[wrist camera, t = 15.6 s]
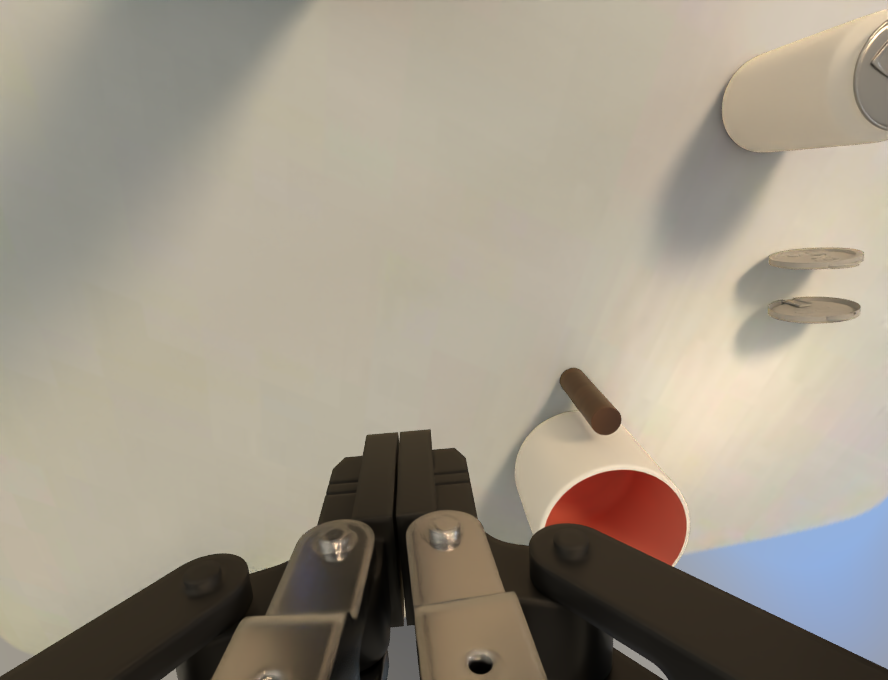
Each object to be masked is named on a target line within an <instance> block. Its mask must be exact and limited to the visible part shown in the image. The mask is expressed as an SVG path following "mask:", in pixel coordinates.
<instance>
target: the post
mask: <svg viewBox="0 0 888 680" xmlns="http://www.w3.org/2000/svg"><path fill="white" fill-rule="evenodd" d="M560 385H561V387H562V388H563V390H564V391H565V392H566V394H567V395H568V396H569V398H570V399H571V400H572V402H573V403H574V404H575V406H576V407H577V409H578V410H579V411H580V413H581V414H582V415H583V417H584V418H585V419H586V421H587V422H588V423H589V425H590V426H591V427H592V429H593V430H594V431H595V432H596V433H597V434H600V435H610V434H612V433H614V432H615V431H617V429H618V428H619V427H620V424H621V415H620V413H619V412H618V410H617V409H616V408H615V407H614V406H613V405H612V404H611V403H610V402H609V401H608V399H607V398H606V397H605V396H604V395H603V394H602V393H601V392H600V391H599V390H598V388H597V387H596V386H595V385H594V384H593V383H592V382H591V381H590V380H589V379H588V377H587V376H586V375H585V374H584V373H583V372H582V371H581V370H579V369H577V368H570V369H568V370H566V371H565V372H563V374H562V375H561V378H560Z"/></svg>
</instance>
